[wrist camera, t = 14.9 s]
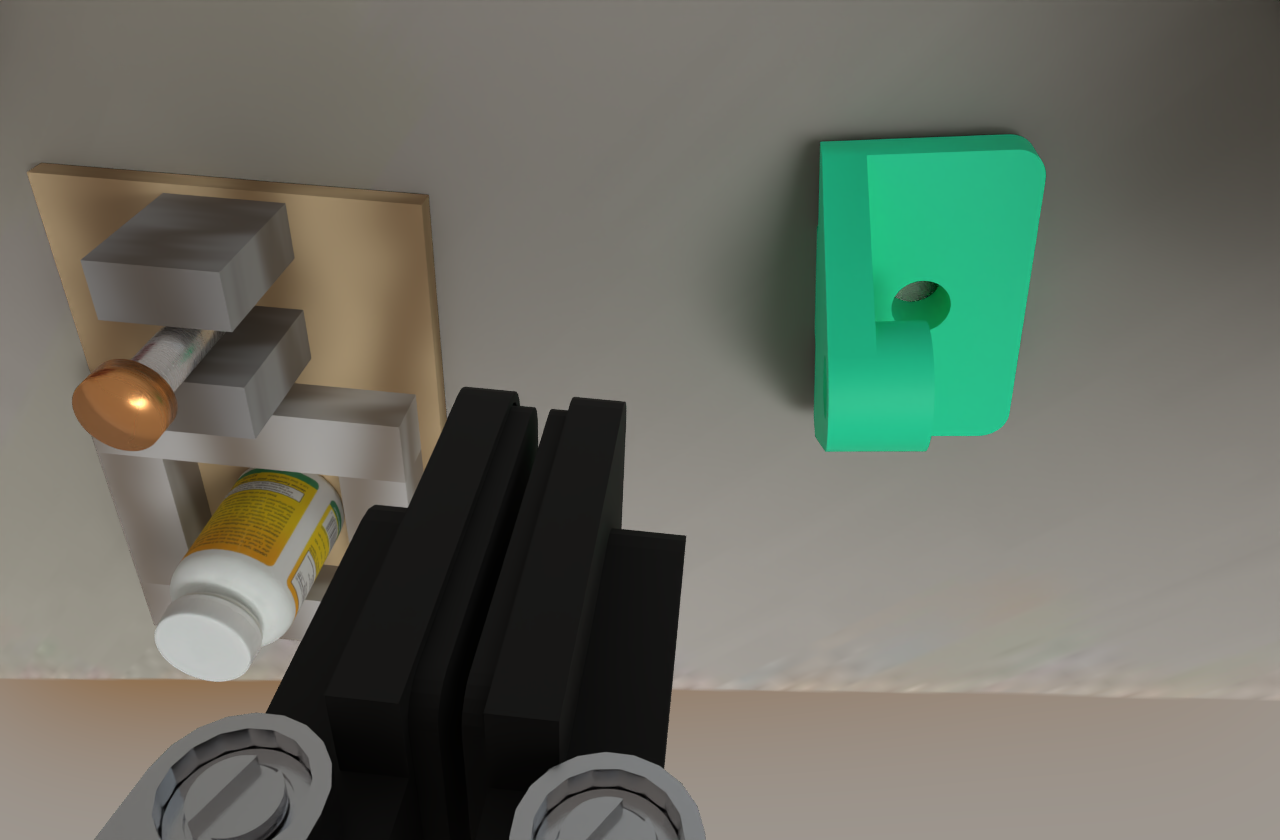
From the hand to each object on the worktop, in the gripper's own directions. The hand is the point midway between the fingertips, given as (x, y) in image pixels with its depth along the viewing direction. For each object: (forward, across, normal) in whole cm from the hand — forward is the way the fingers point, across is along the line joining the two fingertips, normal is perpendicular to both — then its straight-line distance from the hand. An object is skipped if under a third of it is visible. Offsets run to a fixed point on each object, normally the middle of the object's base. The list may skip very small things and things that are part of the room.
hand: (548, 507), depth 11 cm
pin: (+27, +18, +14) cm, 35 cm away
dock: (+29, +18, +21) cm, 40 cm away
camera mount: (+30, -9, +11) cm, 33 cm away
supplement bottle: (+28, +18, +25) cm, 42 cm away
